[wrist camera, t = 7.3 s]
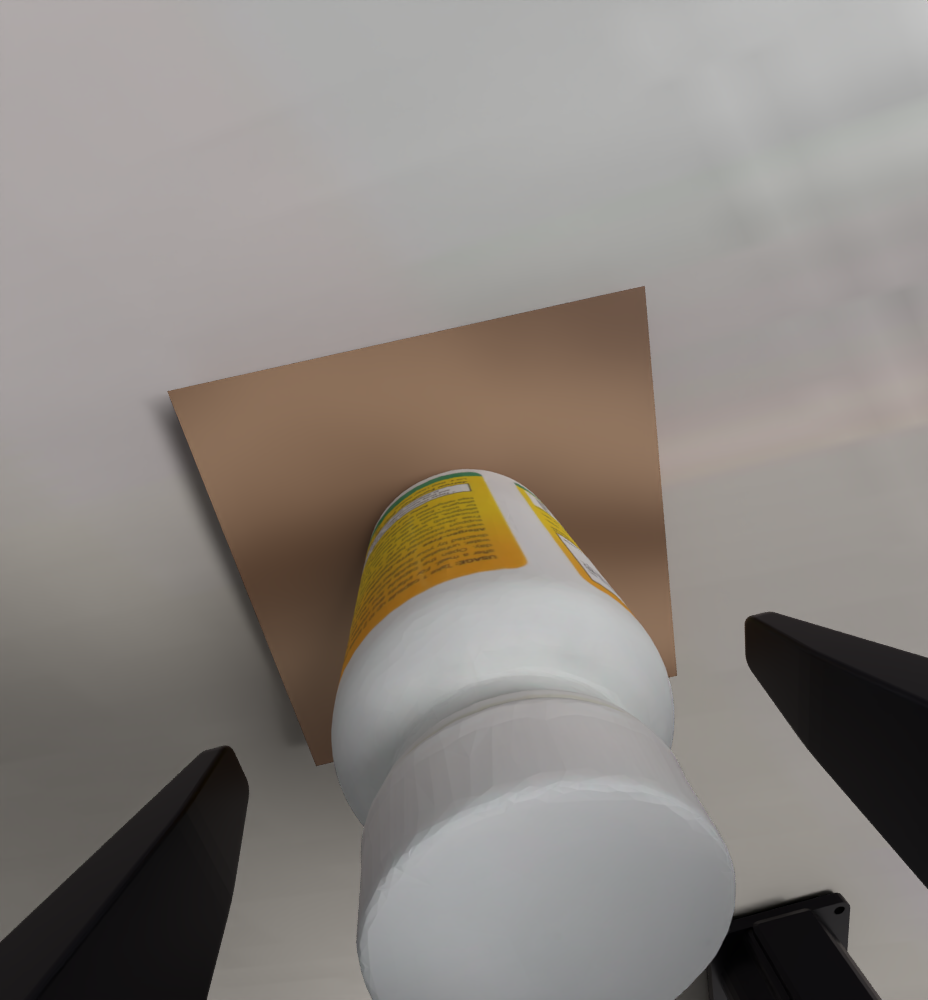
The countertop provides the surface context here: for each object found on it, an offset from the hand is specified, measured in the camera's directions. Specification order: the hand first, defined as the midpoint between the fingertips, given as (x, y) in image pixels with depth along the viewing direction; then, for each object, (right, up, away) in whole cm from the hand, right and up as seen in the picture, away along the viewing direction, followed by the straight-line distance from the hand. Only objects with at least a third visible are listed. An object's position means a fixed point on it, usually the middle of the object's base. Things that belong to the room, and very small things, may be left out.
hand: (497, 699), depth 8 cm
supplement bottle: (-1, +2, +6) cm, 6 cm away
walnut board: (-1, +2, +7) cm, 7 cm away
